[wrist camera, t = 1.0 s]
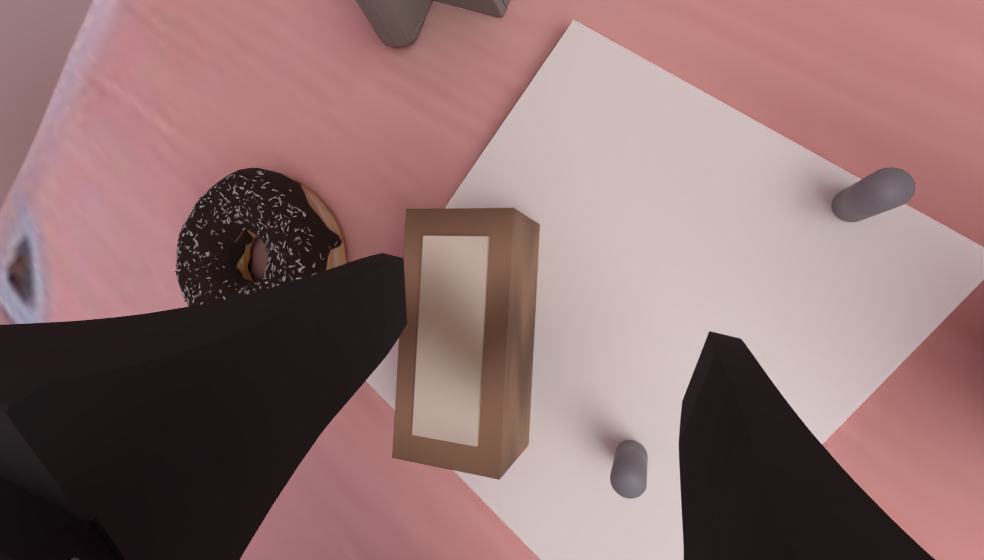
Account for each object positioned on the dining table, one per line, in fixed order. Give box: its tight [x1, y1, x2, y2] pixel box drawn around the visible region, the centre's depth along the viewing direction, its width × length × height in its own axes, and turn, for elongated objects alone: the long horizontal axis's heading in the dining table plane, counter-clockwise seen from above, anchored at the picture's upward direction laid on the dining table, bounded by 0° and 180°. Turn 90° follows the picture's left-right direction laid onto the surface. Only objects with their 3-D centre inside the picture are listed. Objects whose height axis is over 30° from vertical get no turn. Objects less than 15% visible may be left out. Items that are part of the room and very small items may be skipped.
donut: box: [175, 168, 347, 307], centre depth 28 cm, size 11×12×4 cm
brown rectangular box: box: [392, 208, 540, 480], centre depth 21 cm, size 11×5×5 cm, turn 177°
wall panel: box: [366, 20, 984, 560], centre depth 20 cm, size 22×20×4 cm
